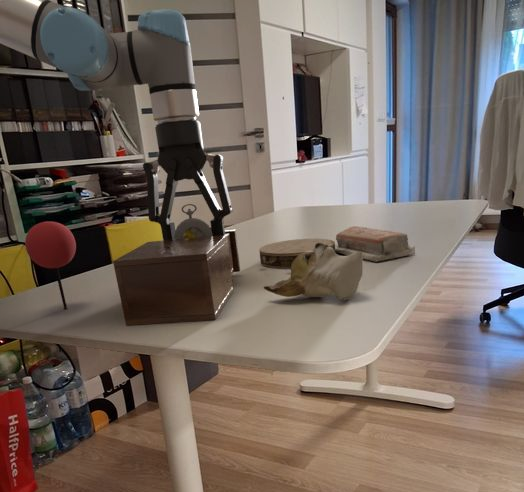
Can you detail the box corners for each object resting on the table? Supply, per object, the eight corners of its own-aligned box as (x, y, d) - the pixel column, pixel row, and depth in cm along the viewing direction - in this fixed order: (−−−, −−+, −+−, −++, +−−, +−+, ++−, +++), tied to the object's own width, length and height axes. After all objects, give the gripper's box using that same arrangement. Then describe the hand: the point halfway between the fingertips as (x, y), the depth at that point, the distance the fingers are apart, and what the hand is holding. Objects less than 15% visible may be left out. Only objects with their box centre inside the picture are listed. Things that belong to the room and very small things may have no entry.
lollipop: (69, 315, 87) (47, 224, 81) (33, 315, 90) (10, 226, 84) (97, 302, 93) (79, 217, 88) (63, 302, 96) (43, 219, 91)
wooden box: (157, 296, 93) (147, 241, 89) (233, 291, 91) (226, 235, 87) (125, 325, 78) (112, 261, 75) (215, 320, 76) (206, 253, 73)
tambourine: (339, 263, 103) (339, 248, 102) (259, 271, 104) (258, 256, 103) (331, 249, 118) (330, 236, 117) (261, 256, 119) (260, 243, 117)
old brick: (417, 230, 102) (375, 238, 98) (417, 254, 104) (376, 263, 100) (363, 223, 117) (325, 230, 114) (363, 244, 119) (326, 252, 115)
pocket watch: (200, 252, 100) (192, 199, 96) (228, 256, 94) (220, 199, 90) (164, 262, 95) (154, 206, 91) (191, 266, 89) (181, 206, 85)
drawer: (185, 268, 109) (179, 230, 106) (244, 264, 107) (240, 225, 105) (156, 294, 90) (148, 249, 88) (227, 289, 89) (221, 243, 86)
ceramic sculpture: (344, 247, 71) (255, 252, 80) (350, 308, 74) (263, 306, 82) (375, 234, 79) (291, 239, 88) (379, 289, 82) (297, 289, 90)
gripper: (240, 115, 88) (254, 249, 97) (127, 128, 91) (150, 258, 99) (233, 112, 81) (249, 258, 90) (110, 127, 84) (137, 266, 93)
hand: (197, 257), depth 95 cm, fingers closed on pocket watch, 7 cm apart
